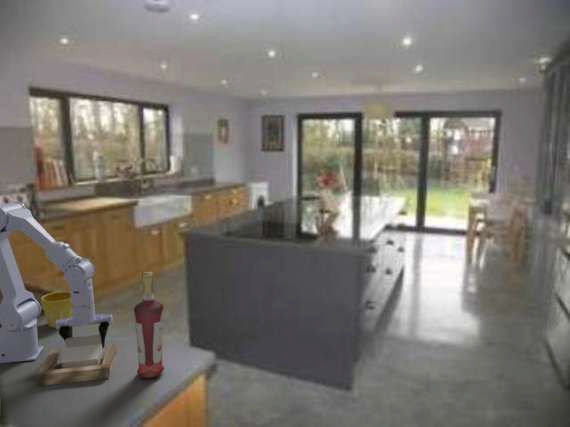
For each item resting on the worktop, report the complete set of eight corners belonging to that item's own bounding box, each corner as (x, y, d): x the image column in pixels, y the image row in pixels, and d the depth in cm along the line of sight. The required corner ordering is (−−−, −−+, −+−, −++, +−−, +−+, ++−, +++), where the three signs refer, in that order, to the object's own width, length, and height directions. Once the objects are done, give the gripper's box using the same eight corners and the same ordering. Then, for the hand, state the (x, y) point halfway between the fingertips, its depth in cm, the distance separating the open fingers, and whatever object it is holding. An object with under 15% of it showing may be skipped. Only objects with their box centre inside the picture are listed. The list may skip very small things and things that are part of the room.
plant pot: (83, 318, 151) (81, 291, 149) (65, 331, 140) (63, 302, 139) (55, 316, 152) (53, 290, 150) (35, 329, 141) (33, 300, 140)
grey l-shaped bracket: (63, 373, 116) (59, 355, 113) (69, 355, 122) (66, 338, 119) (99, 369, 118) (96, 351, 115) (103, 351, 124) (100, 334, 121)
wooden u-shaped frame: (37, 385, 109) (36, 374, 108) (52, 359, 122) (52, 349, 122) (109, 378, 113) (108, 367, 112) (116, 353, 126) (116, 343, 126)
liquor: (164, 380, 112) (161, 276, 108) (134, 383, 111) (130, 278, 106) (165, 366, 119) (163, 268, 115) (138, 368, 118) (134, 269, 113)
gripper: (50, 311, 115) (55, 358, 118) (108, 306, 119) (112, 352, 121) (57, 302, 122) (62, 347, 124) (112, 297, 125) (115, 340, 128)
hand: (87, 348), depth 123 cm, fingers open, 7 cm apart
